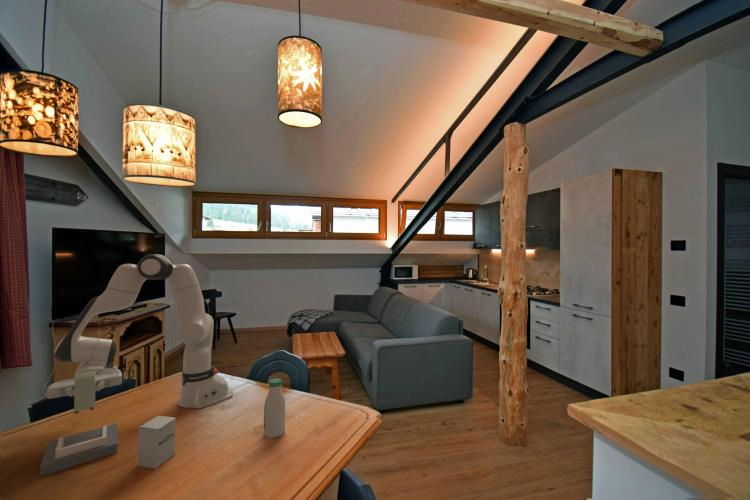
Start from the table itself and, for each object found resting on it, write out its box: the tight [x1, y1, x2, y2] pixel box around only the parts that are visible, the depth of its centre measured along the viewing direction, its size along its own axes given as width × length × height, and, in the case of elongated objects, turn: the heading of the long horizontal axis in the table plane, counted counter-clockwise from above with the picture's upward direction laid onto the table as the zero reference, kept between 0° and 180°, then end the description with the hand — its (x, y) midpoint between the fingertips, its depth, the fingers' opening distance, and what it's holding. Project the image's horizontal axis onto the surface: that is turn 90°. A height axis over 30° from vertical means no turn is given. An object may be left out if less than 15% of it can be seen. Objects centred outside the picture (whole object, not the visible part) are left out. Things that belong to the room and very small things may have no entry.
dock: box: [39, 423, 118, 477], centre depth 105 cm, size 18×16×6 cm
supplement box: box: [137, 415, 177, 470], centre depth 101 cm, size 7×7×13 cm
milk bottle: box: [263, 377, 286, 439], centre depth 117 cm, size 8×8×20 cm
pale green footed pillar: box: [73, 371, 96, 415], centre depth 109 cm, size 5×6×12 cm
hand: (85, 391), depth 108 cm, fingers closed on pale green footed pillar, 5 cm apart
